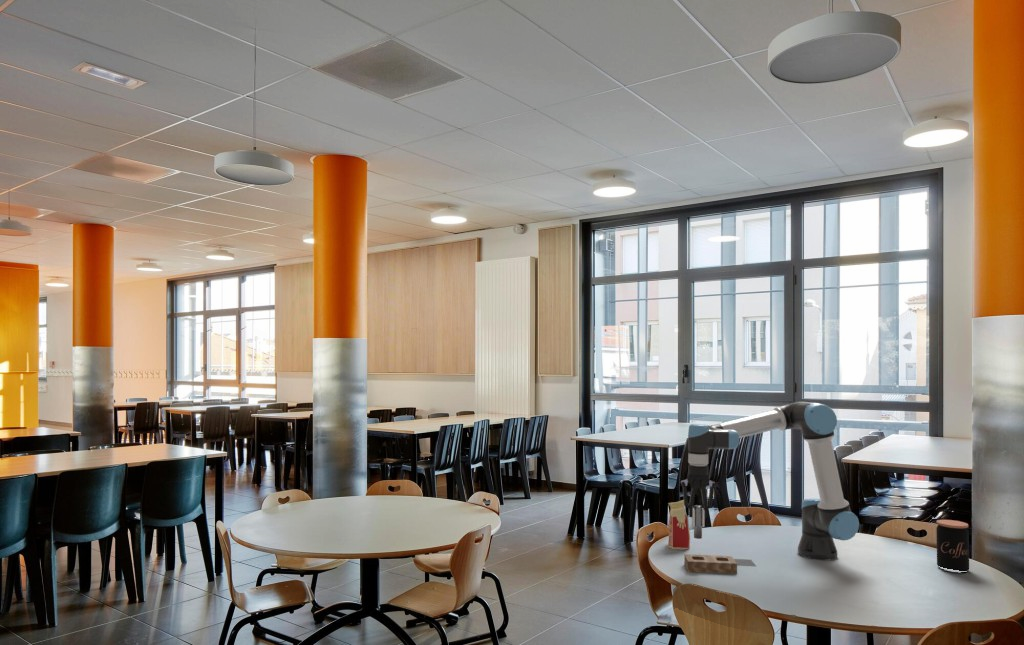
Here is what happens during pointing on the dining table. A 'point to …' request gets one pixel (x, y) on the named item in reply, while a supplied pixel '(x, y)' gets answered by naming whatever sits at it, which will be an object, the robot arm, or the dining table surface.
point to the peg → (698, 522)
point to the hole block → (710, 563)
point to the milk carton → (678, 527)
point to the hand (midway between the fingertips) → (698, 525)
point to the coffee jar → (952, 545)
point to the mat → (744, 562)
